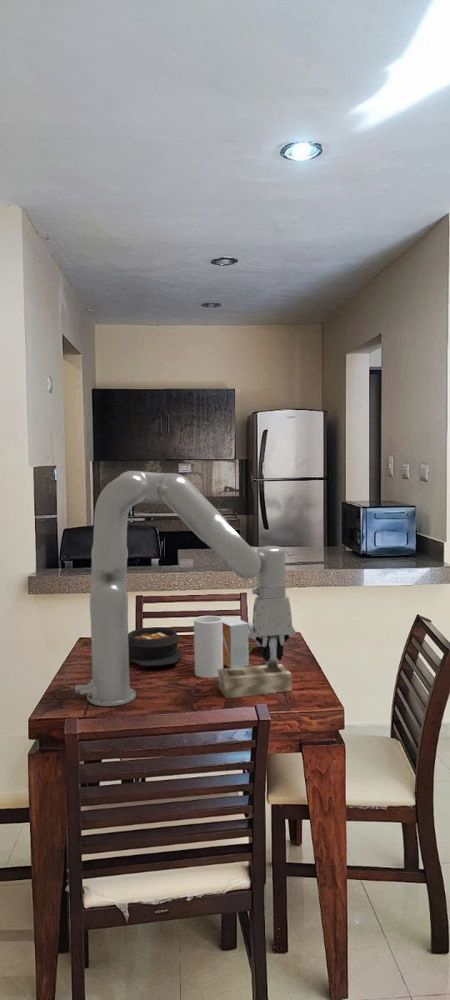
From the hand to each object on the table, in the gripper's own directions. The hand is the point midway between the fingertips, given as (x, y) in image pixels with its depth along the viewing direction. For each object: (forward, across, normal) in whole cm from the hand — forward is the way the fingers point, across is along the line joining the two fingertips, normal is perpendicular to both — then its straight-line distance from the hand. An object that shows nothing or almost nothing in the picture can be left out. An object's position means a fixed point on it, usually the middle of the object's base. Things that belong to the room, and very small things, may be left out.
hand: (272, 658), depth 198 cm
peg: (+2, 0, 0) cm, 2 cm away
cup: (+8, -14, +17) cm, 24 cm away
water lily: (+8, +7, +34) cm, 35 cm away
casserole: (+8, -28, +35) cm, 46 cm away
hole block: (+8, -5, 0) cm, 9 cm away
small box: (+8, -5, +24) cm, 26 cm away
